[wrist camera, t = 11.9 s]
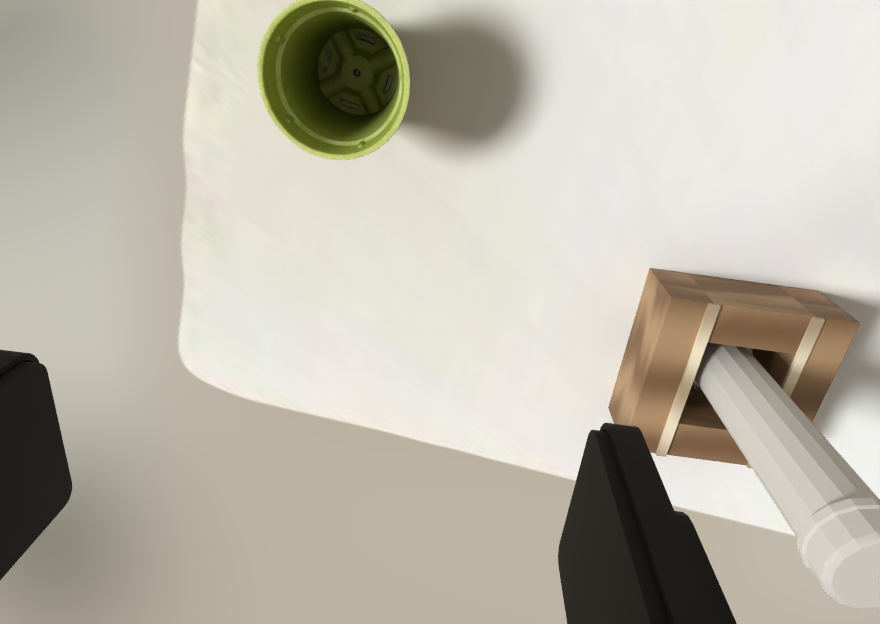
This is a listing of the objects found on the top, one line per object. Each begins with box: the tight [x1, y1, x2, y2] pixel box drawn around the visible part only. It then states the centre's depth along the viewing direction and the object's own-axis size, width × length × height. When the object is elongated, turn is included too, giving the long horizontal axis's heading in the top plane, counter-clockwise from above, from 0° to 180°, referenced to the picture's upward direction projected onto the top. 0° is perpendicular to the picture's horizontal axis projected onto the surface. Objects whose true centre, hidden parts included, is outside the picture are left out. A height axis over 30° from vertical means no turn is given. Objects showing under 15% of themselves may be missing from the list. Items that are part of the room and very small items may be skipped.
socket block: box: [608, 268, 860, 468], centre depth 49 cm, size 14×14×6 cm
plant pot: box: [257, 0, 410, 160], centre depth 39 cm, size 9×9×9 cm
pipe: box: [693, 342, 880, 609], centre depth 38 cm, size 6×6×30 cm
